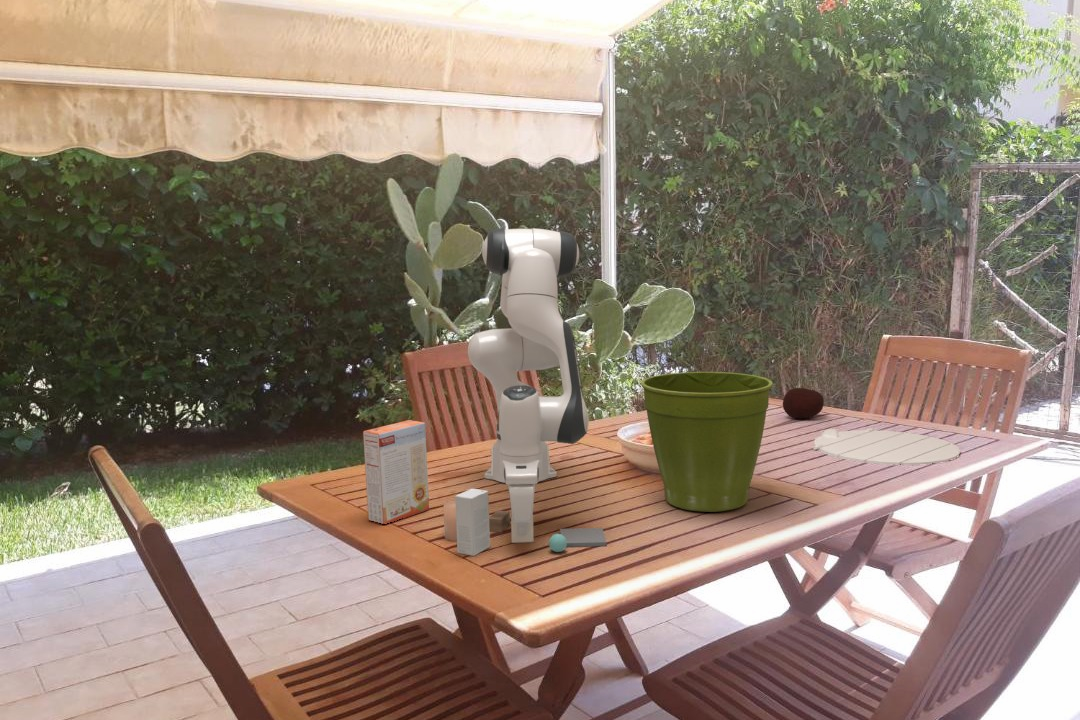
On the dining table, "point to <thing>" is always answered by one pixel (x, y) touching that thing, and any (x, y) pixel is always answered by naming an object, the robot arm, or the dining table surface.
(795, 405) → the dark brown rounded lump
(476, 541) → the skincare box
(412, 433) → the cracker box
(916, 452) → the lazy susan
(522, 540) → the cream block
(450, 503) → the tan domed cylinder
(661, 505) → the dining table surface
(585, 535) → the slate coaster
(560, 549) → the teal ball
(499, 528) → the walnut block
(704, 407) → the plant pot
